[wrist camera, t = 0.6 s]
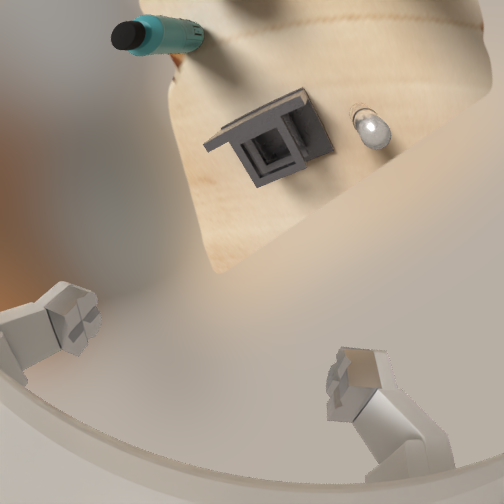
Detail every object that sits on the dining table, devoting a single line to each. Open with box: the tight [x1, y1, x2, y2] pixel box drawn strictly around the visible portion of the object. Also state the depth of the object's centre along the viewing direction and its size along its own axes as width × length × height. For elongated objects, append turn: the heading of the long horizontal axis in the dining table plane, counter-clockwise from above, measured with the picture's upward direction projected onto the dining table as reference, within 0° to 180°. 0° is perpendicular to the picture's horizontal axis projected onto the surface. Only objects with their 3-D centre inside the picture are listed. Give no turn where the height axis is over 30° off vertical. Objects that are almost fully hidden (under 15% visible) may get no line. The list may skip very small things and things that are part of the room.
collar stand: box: [203, 87, 334, 188], centre depth 43 cm, size 16×12×10 cm
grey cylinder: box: [349, 103, 391, 149], centre depth 36 cm, size 4×4×14 cm
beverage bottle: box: [111, 15, 204, 56], centre depth 30 cm, size 6×7×20 cm
